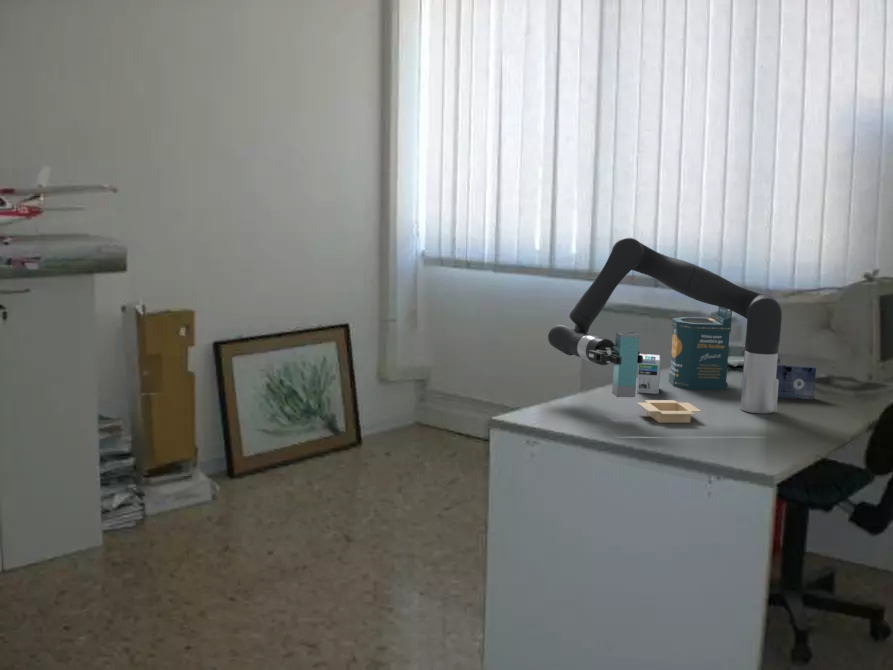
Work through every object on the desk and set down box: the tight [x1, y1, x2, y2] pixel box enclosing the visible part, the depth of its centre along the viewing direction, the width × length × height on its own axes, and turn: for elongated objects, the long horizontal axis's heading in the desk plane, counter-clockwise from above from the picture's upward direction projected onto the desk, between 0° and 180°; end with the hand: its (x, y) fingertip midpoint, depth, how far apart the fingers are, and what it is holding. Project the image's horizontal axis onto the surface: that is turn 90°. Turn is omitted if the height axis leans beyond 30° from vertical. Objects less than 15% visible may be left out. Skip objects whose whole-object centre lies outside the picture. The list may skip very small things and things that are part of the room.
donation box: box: [668, 306, 733, 391], centre depth 332 cm, size 16×16×28 cm
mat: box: [604, 414, 642, 423], centre depth 281 cm, size 8×8×1 cm
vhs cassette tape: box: [776, 364, 817, 400], centre depth 317 cm, size 18×3×10 cm, turn 80°
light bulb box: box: [636, 353, 661, 395], centre depth 321 cm, size 11×7×11 cm, turn 168°
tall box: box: [611, 331, 640, 398], centre depth 278 cm, size 5×5×17 cm
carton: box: [636, 399, 702, 424], centre depth 283 cm, size 15×17×4 cm
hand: (630, 360), depth 276 cm, fingers closed on tall box, 6 cm apart
